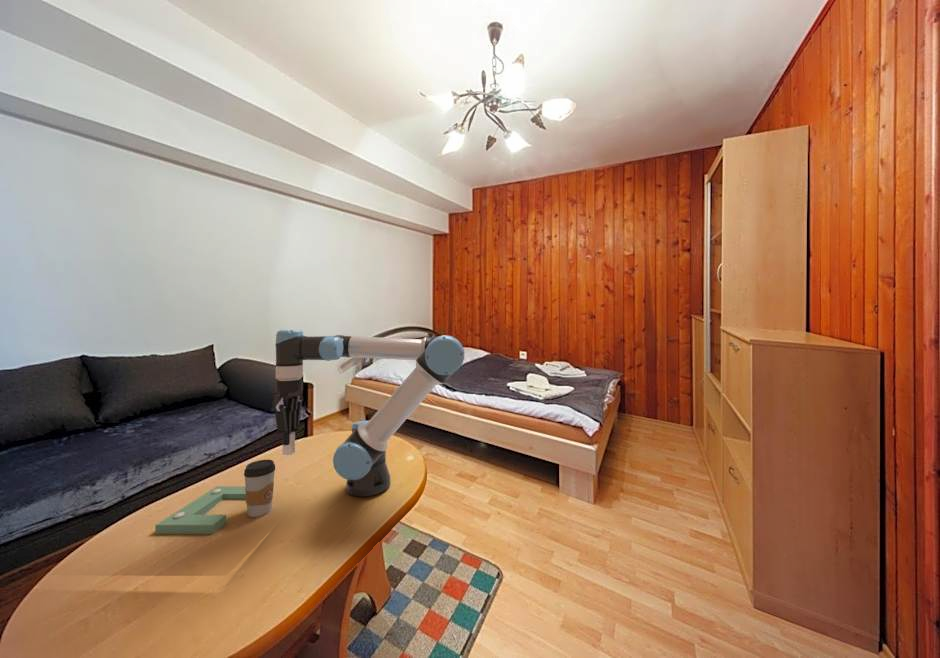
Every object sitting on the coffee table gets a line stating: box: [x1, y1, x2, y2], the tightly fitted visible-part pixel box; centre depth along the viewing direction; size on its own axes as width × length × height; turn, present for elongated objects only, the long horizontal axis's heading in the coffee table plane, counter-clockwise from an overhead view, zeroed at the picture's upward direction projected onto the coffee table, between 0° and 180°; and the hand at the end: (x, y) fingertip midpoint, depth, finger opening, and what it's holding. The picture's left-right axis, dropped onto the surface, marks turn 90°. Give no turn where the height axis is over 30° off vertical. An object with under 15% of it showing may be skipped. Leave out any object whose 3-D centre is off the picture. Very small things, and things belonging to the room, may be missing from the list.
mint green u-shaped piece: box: [155, 486, 246, 535], centre depth 101 cm, size 16×22×3 cm
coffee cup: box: [243, 459, 276, 518], centre depth 101 cm, size 8×8×15 cm
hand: (288, 453), depth 101 cm, fingers closed
